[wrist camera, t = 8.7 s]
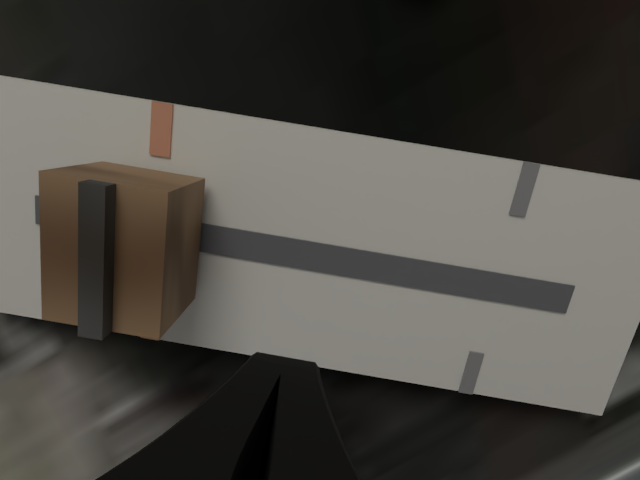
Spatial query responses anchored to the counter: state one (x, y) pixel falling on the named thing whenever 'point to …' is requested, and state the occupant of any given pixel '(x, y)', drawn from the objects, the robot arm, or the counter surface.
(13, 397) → the counter surface
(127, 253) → the slider cap
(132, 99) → the fader console
